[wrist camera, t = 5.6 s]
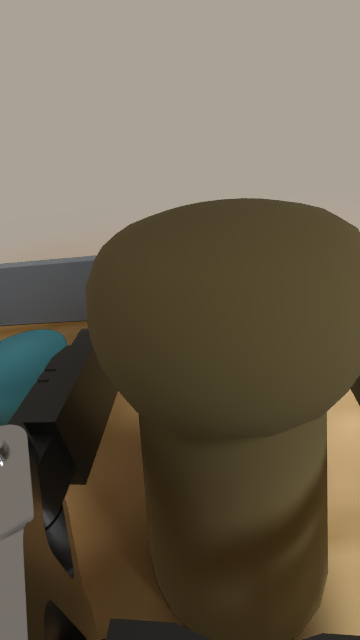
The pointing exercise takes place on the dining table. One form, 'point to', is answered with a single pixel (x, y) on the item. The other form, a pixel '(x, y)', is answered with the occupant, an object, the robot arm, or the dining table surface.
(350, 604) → the dining table surface
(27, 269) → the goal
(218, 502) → the cork
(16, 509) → the robot arm
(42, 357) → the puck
